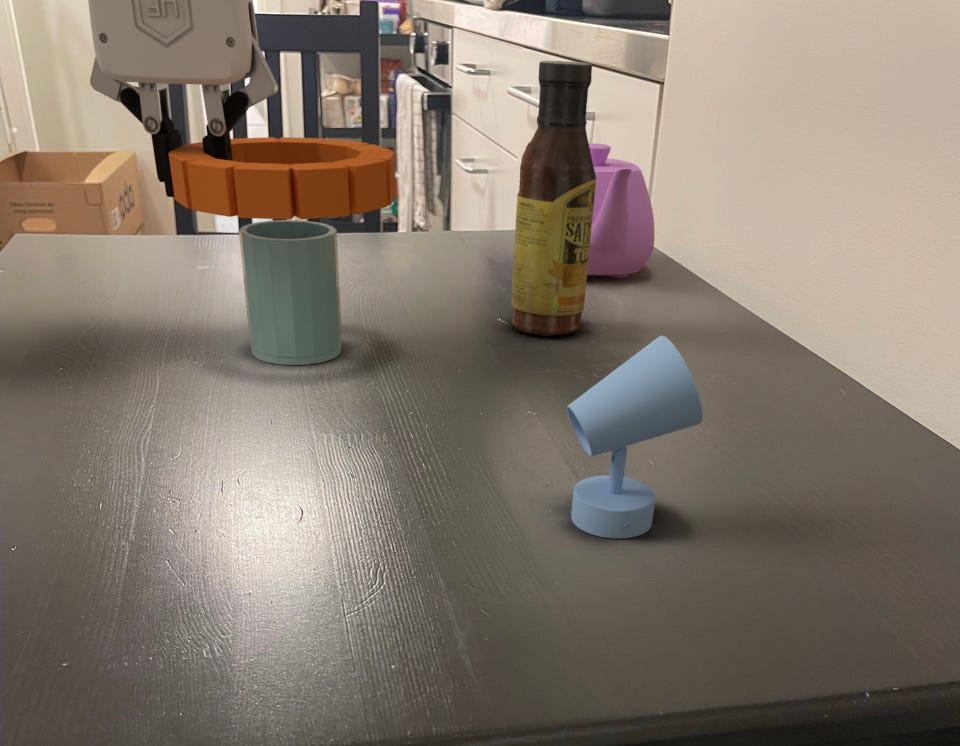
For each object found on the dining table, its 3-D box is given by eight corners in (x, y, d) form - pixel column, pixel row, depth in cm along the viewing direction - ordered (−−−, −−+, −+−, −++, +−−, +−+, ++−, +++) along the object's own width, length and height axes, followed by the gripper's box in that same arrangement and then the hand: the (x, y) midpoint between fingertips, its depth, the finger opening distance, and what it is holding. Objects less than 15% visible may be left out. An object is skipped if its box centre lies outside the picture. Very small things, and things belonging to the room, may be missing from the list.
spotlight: (658, 494, 57) (546, 504, 55) (684, 322, 51) (560, 327, 49) (694, 533, 53) (574, 544, 51) (726, 351, 47) (593, 357, 46)
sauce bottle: (570, 343, 80) (594, 66, 69) (499, 333, 82) (511, 61, 71) (590, 323, 85) (615, 61, 74) (523, 313, 87) (538, 57, 76)
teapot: (507, 249, 108) (512, 131, 101) (621, 249, 110) (634, 133, 104) (548, 297, 92) (557, 161, 85) (681, 296, 94) (700, 162, 87)
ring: (148, 215, 64) (141, 165, 62) (209, 177, 76) (204, 134, 75) (381, 222, 64) (380, 172, 62) (403, 183, 76) (402, 141, 75)
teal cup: (242, 363, 73) (229, 237, 68) (262, 335, 79) (251, 218, 74) (334, 367, 73) (327, 241, 68) (347, 339, 79) (342, 222, 74)
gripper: (1, -139, 57) (68, 200, 67) (274, -130, 57) (299, 208, 67) (52, -126, 63) (106, 182, 73) (298, -119, 63) (317, 189, 73)
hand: (198, 192), depth 70 cm, fingers closed on ring, 2 cm apart
